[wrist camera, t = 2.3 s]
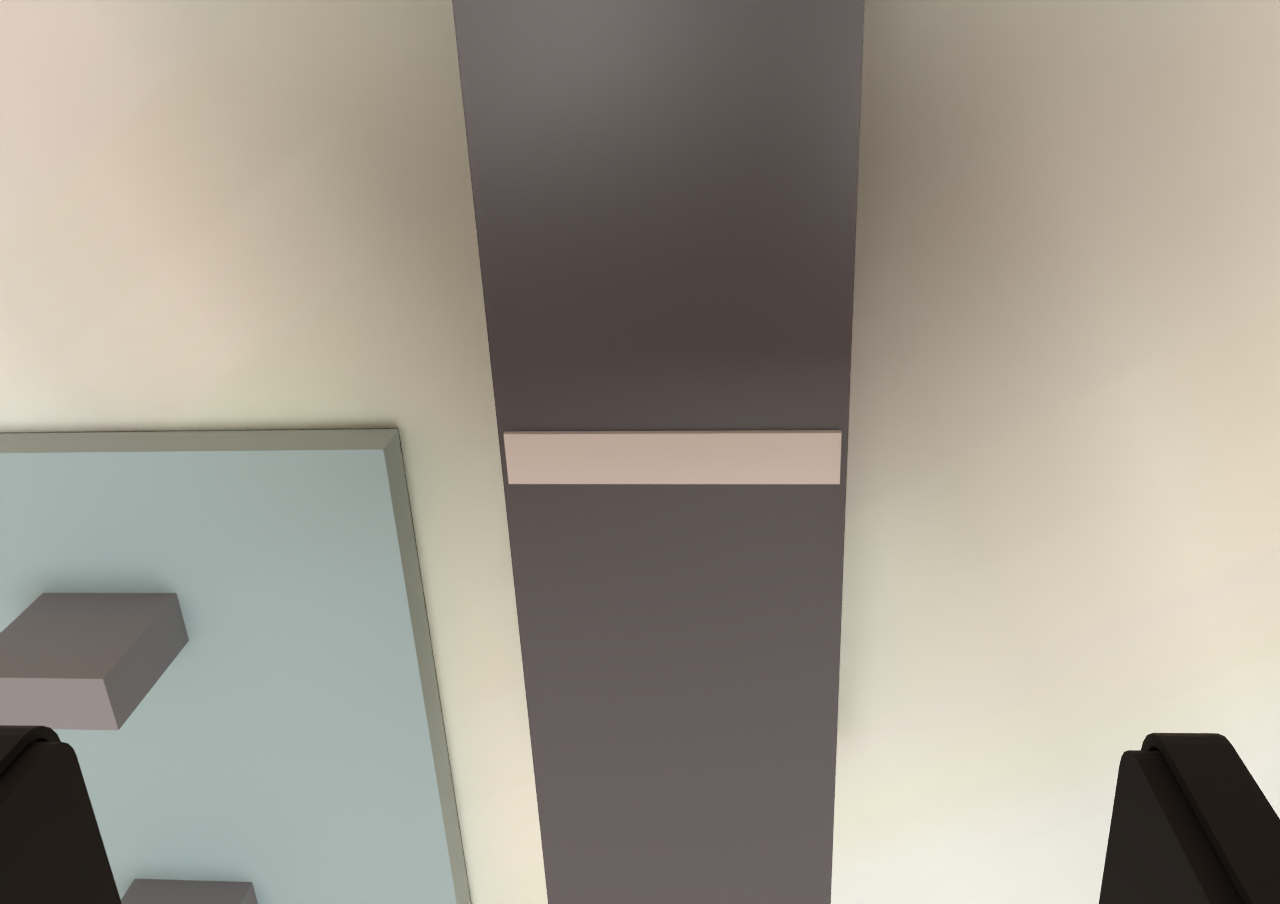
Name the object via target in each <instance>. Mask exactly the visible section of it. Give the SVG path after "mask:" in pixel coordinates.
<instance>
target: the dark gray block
mask: <svg viewBox="0 0 1280 904" xmlns="http://www.w3.org/2000/svg"><path fill="white" fill-rule="evenodd" d="M452 2H453V11H454V21H455V30H456V40H457V49H458V59H459V68H460V77H461V87H462V96H463V106H464V115H465V124H466V134H467V143H468V153H469V162H470V172H471V181H472V190H473V200H474V209H475V219H476V228H477V237H478V247H479V256H480V266H481V275H482V285H483V294H484V303H485V313H486V322H487V332H488V341H489V350H490V360H491V369H492V379H493V388H494V398H495V407H496V416H497V426H498V435H499V445H500V454H501V463H502V473H503V482H504V492H505V501H506V511H507V520H508V529H509V539H510V548H511V558H512V567H513V576H514V586H515V595H516V605H517V614H518V624H519V633H520V642H521V652H522V661H523V671H524V680H525V689H526V699H527V708H528V718H529V727H530V737H531V746H532V755H533V765H534V774H535V784H536V793H537V802H538V812H539V821H540V831H541V840H542V850H543V859H544V868H545V878H546V887H547V897H548V904H831V878H832V852H833V825H834V798H835V771H836V745H837V718H838V691H839V664H840V638H841V611H842V584H843V557H844V531H845V504H846V477H847V451H848V424H849V397H850V370H851V344H852V317H853V290H854V263H855V237H856V210H857V183H858V156H859V130H860V103H861V76H862V49H863V23H864V0H452Z"/></svg>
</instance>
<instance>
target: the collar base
mask: <svg viewBox="0 0 1280 904" xmlns="http://www.w3.org/2000/svg"><path fill="white" fill-rule="evenodd" d="M0 725H17V726H46V727H50V728H51V729H52V730H54V731H55V732H56V733H57V734H58V737H59V739H60V741H61V742H64V743H68V744H69V745H70V746H71V747H73V749H74V751H75V753H76V755H77V758H78V762H79V765H80V768H81V772H82V775H83V778H84V781H85V785H86V788H87V791H88V795H89V798H90V801H91V804H92V808H93V811H94V814H95V818H96V821H97V824H98V827H99V831H100V834H101V837H102V840H103V844H104V847H105V850H106V854H107V857H108V860H109V863H110V867H111V870H112V873H113V877H114V880H115V883H116V886H117V890H118V893H119V896H120V900H121V903H122V904H471V900H470V893H469V887H468V880H467V874H466V867H465V861H464V855H463V848H462V842H461V835H460V829H459V822H458V816H457V809H456V803H455V796H454V790H453V783H452V777H451V770H450V764H449V757H448V751H447V744H446V738H445V731H444V725H443V718H442V712H441V705H440V699H439V692H438V686H437V679H436V673H435V666H434V660H433V653H432V647H431V640H430V634H429V627H428V621H427V614H426V608H425V601H424V595H423V588H422V582H421V575H420V569H419V562H418V556H417V549H416V543H415V536H414V530H413V523H412V517H411V511H410V504H409V498H408V491H407V485H406V478H405V472H404V465H403V459H402V452H401V446H400V439H399V433H398V429H335V430H248V431H160V432H73V433H0Z"/></svg>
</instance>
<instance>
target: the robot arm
mask: <svg viewBox="0 0 1280 904" xmlns="http://www.w3.org/2000/svg"><path fill="white" fill-rule="evenodd" d="M0 904H122V903H121V900H120V896H119V893H118V890H117V886H116V883H115V880H114V877H113V873H112V870H111V867H110V863H109V860H108V857H107V854H106V850H105V847H104V844H103V840H102V837H101V834H100V831H99V827H98V824H97V821H96V818H95V814H94V811H93V808H92V804H91V801H90V798H89V795H88V791H87V788H86V785H85V781H84V778H83V775H82V772H81V768H80V765H79V762H78V758H77V755H76V753H75V751H74V749H73V747H71V746H70V745H69V744H68V743H64V742H61V741H60V739H59V737H58V734H57V733H56V732H55V731H54V730H52V729H51V728H50V727H46V726H17V725H0ZM1099 904H1280V819H1279V817H1278V816H1277V814H1276V813H1275V811H1274V810H1273V808H1272V807H1271V805H1270V803H1269V802H1268V800H1267V799H1266V797H1265V796H1264V794H1263V793H1262V791H1261V789H1260V788H1259V786H1258V785H1257V783H1256V782H1255V780H1254V779H1253V777H1252V775H1251V774H1250V772H1249V771H1248V769H1247V768H1246V766H1245V765H1244V763H1243V761H1242V760H1241V758H1240V757H1239V755H1238V754H1237V752H1236V751H1235V749H1234V747H1233V746H1232V744H1231V743H1230V742H1229V741H1228V740H1227V739H1226V737H1225V736H1222V735H1220V734H1213V733H1152V734H1149V735H1147V736H1146V738H1145V740H1144V741H1143V744H1142V748H1141V751H1132V750H1128V751H1126V752H1124V754H1123V755H1122V757H1121V761H1120V766H1119V772H1118V779H1117V786H1116V793H1115V799H1114V806H1113V813H1112V819H1111V826H1110V833H1109V839H1108V846H1107V853H1106V859H1105V866H1104V873H1103V879H1102V886H1101V893H1100V900H1099Z"/></svg>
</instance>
